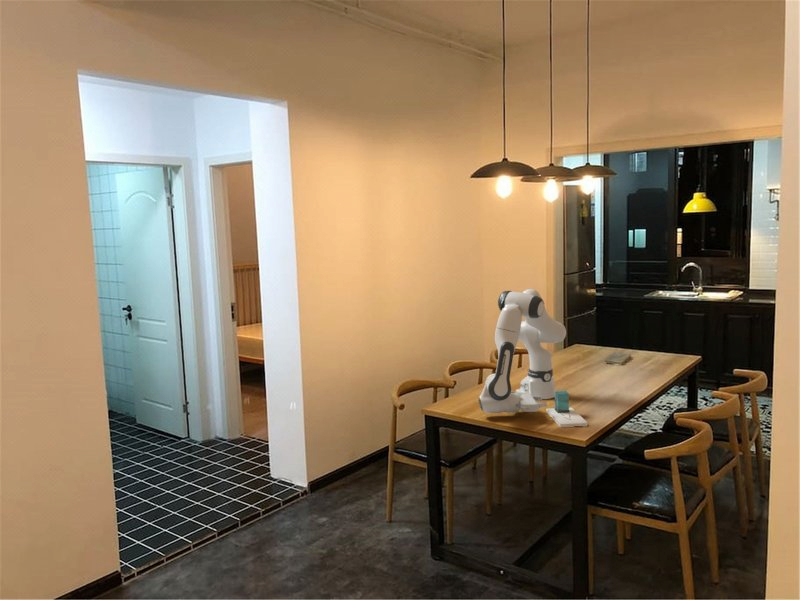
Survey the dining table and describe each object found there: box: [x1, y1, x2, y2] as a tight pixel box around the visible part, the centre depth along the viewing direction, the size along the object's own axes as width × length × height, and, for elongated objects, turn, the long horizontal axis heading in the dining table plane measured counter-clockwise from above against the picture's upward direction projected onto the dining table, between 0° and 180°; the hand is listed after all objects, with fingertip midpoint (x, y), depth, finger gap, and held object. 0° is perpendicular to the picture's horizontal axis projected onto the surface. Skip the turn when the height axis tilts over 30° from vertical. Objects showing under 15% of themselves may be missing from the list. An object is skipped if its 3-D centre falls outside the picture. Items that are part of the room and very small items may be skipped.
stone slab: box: [604, 351, 632, 366], centre depth 405 cm, size 12×4×30 cm
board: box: [546, 407, 589, 428], centre depth 288 cm, size 24×12×2 cm, turn 1°
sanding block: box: [554, 390, 570, 413], centre depth 294 cm, size 5×5×9 cm
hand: (544, 401), depth 294 cm, fingers open, 8 cm apart
